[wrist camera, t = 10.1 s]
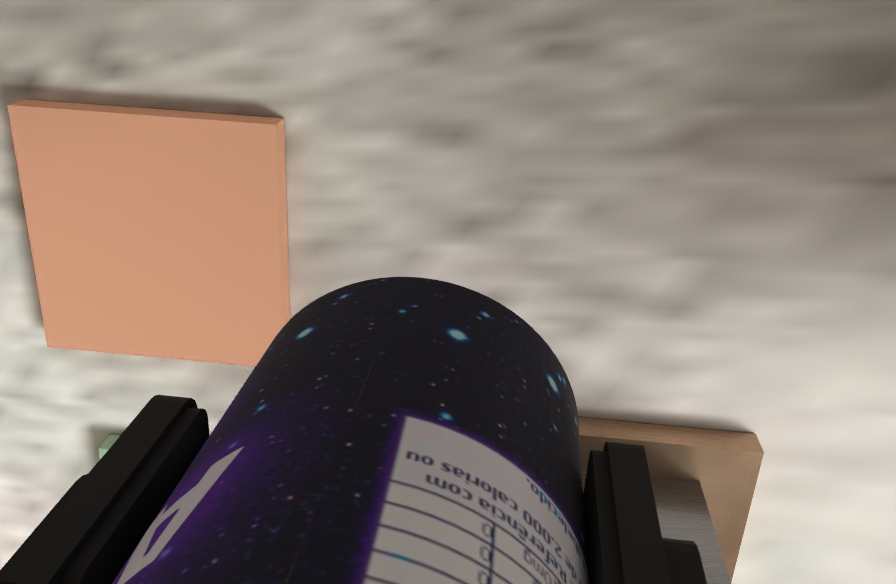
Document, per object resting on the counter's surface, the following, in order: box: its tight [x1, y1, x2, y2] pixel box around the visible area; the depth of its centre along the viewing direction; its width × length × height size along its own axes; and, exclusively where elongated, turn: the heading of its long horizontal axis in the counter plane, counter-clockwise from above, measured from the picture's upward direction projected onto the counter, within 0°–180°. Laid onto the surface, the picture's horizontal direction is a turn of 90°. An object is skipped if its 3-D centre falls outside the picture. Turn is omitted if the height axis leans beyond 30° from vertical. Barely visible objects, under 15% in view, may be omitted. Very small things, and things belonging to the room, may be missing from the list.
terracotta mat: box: [7, 99, 290, 366], centre depth 29 cm, size 9×9×1 cm
